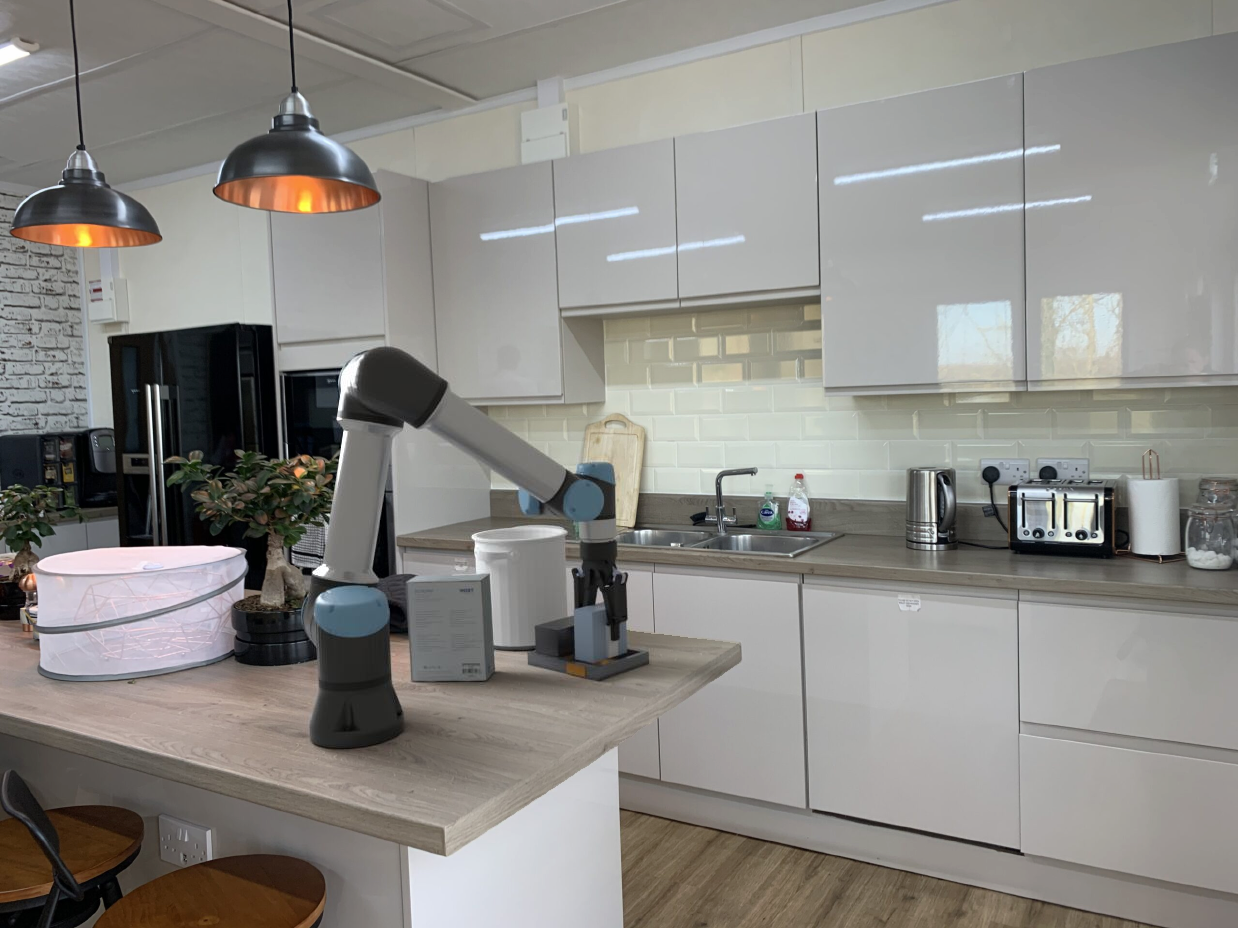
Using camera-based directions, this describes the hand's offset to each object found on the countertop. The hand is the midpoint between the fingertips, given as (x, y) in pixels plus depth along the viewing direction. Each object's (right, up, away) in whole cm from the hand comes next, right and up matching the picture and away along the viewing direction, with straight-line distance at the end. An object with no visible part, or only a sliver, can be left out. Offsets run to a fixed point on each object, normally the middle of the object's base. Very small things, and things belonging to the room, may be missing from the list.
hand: (601, 653), depth 188 cm
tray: (-3, -3, +3) cm, 5 cm away
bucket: (-18, -2, +25) cm, 31 cm away
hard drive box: (-29, -4, -3) cm, 30 cm away
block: (0, 0, 0) cm, 0 cm away
